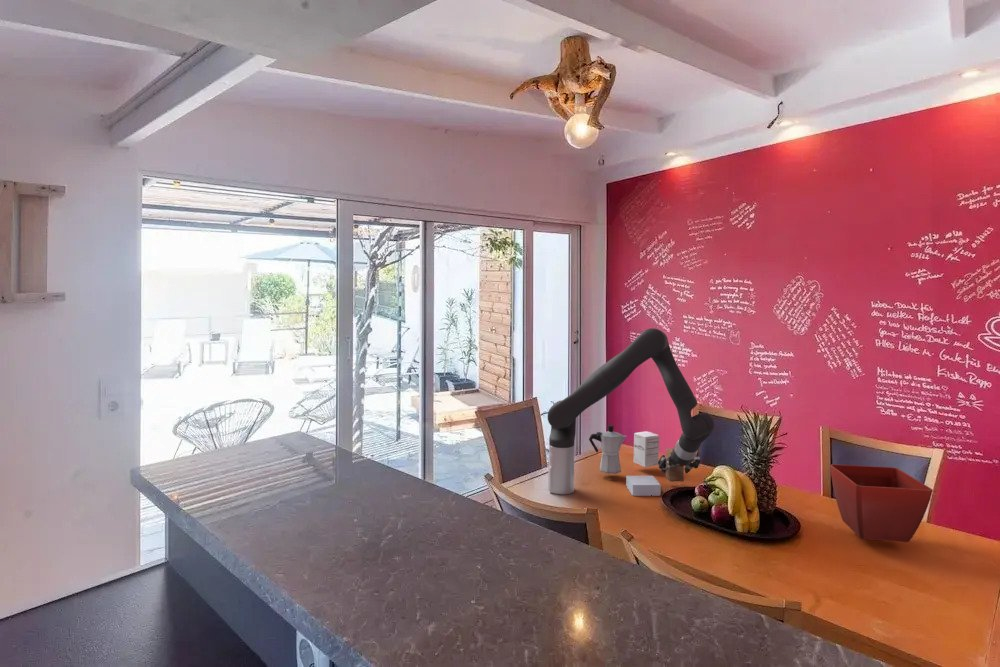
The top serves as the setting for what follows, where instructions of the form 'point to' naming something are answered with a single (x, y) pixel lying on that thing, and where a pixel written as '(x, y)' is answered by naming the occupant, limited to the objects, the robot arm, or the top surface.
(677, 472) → the walnut block
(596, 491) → the top surface
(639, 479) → the stand
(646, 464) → the supplement box
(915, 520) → the plant pot
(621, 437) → the coffee maker
